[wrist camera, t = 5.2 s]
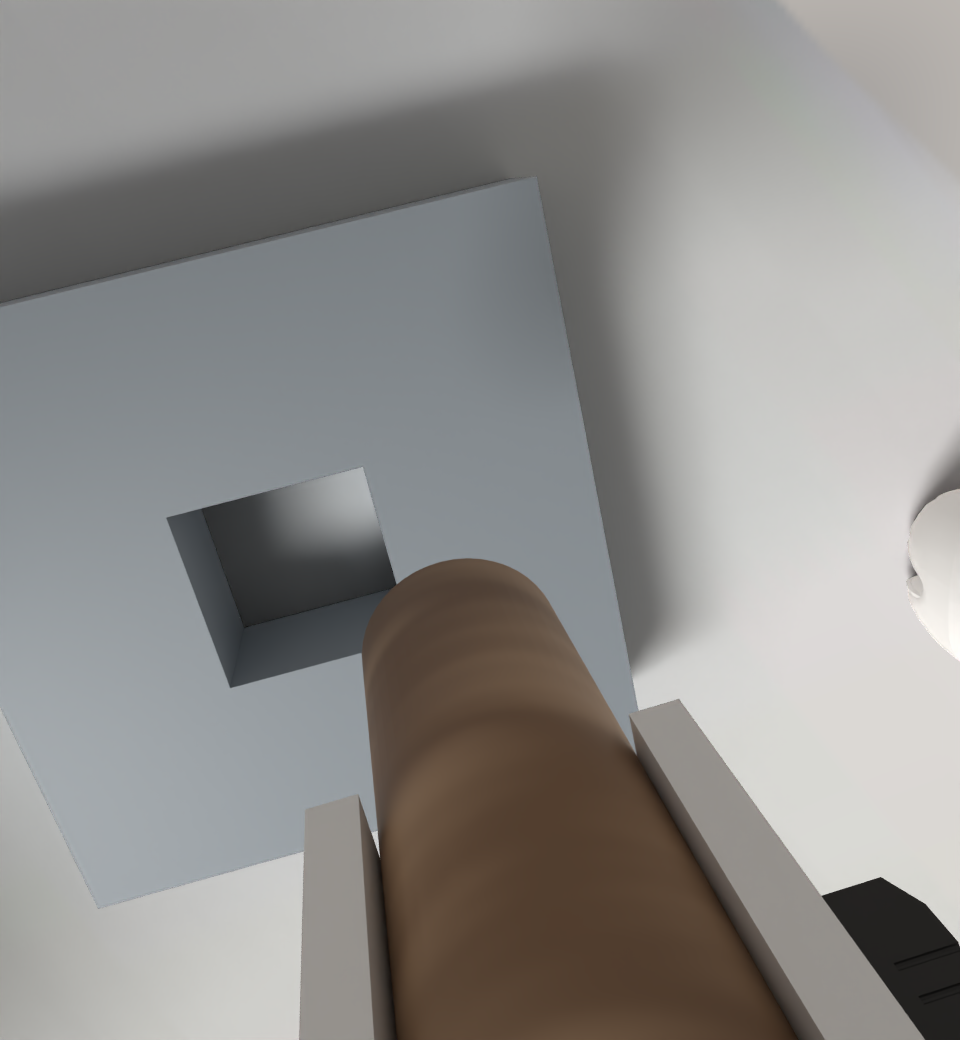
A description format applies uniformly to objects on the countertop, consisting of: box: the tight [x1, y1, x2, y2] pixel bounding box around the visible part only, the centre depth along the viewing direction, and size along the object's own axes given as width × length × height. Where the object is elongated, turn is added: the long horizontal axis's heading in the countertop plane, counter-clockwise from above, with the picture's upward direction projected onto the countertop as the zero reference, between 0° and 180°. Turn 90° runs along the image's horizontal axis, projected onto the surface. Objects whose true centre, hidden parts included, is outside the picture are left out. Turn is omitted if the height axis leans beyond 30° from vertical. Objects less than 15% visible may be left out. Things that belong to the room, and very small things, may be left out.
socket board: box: [0, 176, 638, 909], centre depth 28 cm, size 18×18×4 cm
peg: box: [362, 558, 799, 1040], centre depth 13 cm, size 4×4×12 cm
